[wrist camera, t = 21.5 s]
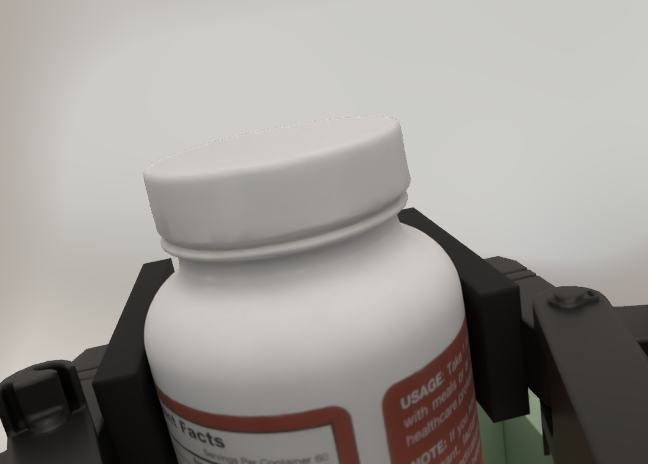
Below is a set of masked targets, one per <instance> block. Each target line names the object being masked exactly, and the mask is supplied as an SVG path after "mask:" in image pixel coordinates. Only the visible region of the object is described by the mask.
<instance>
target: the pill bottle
mask: <svg viewBox="0 0 648 464" xmlns="http://www.w3.org/2000/svg"><path fill="white" fill-rule="evenodd" d="M410 179H411V178H410V174H409V170H408V166H407V161H406V155H405V150H404V144H403V138H402V132H401V127H400V124H399V122H398V121H397V120H396V119H394V118H391V117H385V116H360V117H348V118H337V119H329V120H321V121H314V122H307V123H301V124H295V125H289V126H283V127H277V128H272V129H267V130H262V131H257V132H252V133H247V134H242V135H238V136H234V137H230V138H225V139H221V140H218V141H214V142H211V143H207V144H203V145H200V146H196V147H194V148H190V149H187V150H183V151H180V152H177V153H175V154H172V155H169V156H167V157H164V158H162V159H160V160H158V161H156V162H154V163H152V164H151V165H149V166H148V167H147V168H146V169H145V170H144V182H145V186H146V190H147V194H148V197H149V202H150V207H151V211H152V214H153V217H154V221H155V224H156V228H157V231H158V233H159V234H160V235H161V236H162V239H161V246H162V248H163V249H164V250H165V252H167V253H169V254H170V255H172V256H175V257H178V258H179V267H180V268H179V269H178V270H177V271H175V272H174V273H173V274H172V275H171V276H170V277H169V278H168V279H167V280H166V281H165V282H164V284H163V285H162V286H161V287H160V289H159V290H158V292H157V293H156V295H155V297H154V299H153V301H152V303H151V305H150V308H149V311H148V314H147V317H146V321H145V328H144V344H145V350H146V354H147V358H148V362H149V365H150V369H151V373H152V377H153V381H154V385H155V388H156V391H157V394H158V397H159V401H160V404H161V407H162V410H163V413H164V417H165V421H166V423H167V427H168V431H169V434H170V437H171V441H172V444H173V447H174V450H175V454H176V457H177V461H178V464H484V462H483V453H482V444H481V436H480V428H479V420H478V412H477V404H476V396H475V388H474V379H473V370H472V363H471V355H470V346H469V337H468V329H467V320H466V312H465V307H464V301H463V295H462V289H461V284H460V279H459V276H458V273H457V271H456V268H455V266H454V264H453V262H452V261H451V259H450V257H449V256H448V255H447V253H446V252H445V251H444V250H443V248H442V247H441V246H440V245H439V244H438V243H437V242H436V241H434V240H433V239H432V238H430V237H429V236H428V235H426V234H425V233H423V232H422V231H420V230H418V229H416V228H414V227H411V226H408V225H406V224H403V223H400V222H399V219H398V216H397V214H398V213H399V212H400V211H401V210H402V209H403V208H404V207H405V205H406V202H407V200H408V195H407V192H406V190H407V188H408V187H409V184H410Z"/></svg>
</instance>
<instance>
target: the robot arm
mask: <svg viewBox="0 0 648 464" xmlns="http://www.w3.org/2000/svg"><path fill="white" fill-rule="evenodd" d="M397 216H398V219H399V222H400V223H403V224H406V225H408V226H411V227H414V228H416V229H418V230H420V231H422V232H423V233H425V234H426V235H428V236H429V237H430V238H432V239H433V240H434V241H436V242H437V243H438V244H439V245H440V246H441V247H442V248H443V250H444V251H445V252H446V253H447V255H448V256H449V257H450V259H451V261H452V262H453V264H454V266H455V268H456V271H457V273H458V276H459V279H460V284H461V289H462V295H463V301H464V307H465V312H466V320H467V329H468V337H469V346H470V355H471V363H472V370H473V379H474V388H475V396H476V401H477V402H478V403H479V404H480V406H481V407H482V408H483V410H484V411H485V412H486V414H487V415H488V416H489V418H490V419H491V420H492V422H493V423H497V422H501V421H505V420H509V419H513V418H517V417H521V416H525V415H529V414H530V405H529V393H528V387H529V389H530V390H532V392H533V393H534V394H535V395H536V396H537V397H538V398H539V399H540V410H541V423H542V435H543V448H544V456H548V455H550V452H551V455H552V458H553V461H554V464H648V305H637V306H624V307H613V306H612V305H611V304H610V302H609V301H608V299H607V298H606V297H605V296H604V295H603V294H601V293H600V292H599V291H595V290H593V289H589V288H584V287H577V286H561V287H554V286H553V285H552V284H550V283H549V282H547V281H546V280H544V279H543V278H541V277H540V276H536V274H535V273H534V272H532V271H531V270H527V268H526V267H524V266H523V265H521V264H520V263H518V262H517V261H514V260H511V259H507V258H503V257H500V256H496V257H492V258H487V259H482V258H481V257H480V256H478V255H477V254H475V253H474V252H473V251H472V250H470V249H469V248H468V247H466V246H465V245H464V244H462V243H461V242H459V241H458V240H457V239H455V238H454V237H453V236H451V235H450V234H449V233H447V232H446V231H445V230H443V229H442V228H440V227H439V226H438V225H436V224H435V223H434V222H432V221H431V220H430V219H428V218H427V217H426V216H424V215H423V214H422V213H420V212H419V211H418V210H416V209H415V208H408V209H403V210H401V211H400V212H399V213H398V214H397ZM174 272H175V271H174V268H173V264H172V260H171V258H169V259H165V260H160V261H156V262H150V263H146V264H143V266H142V269H141V271H140V273H139V275H138V278H137V280H136V283H135V285H134V287H133V289H132V292H131V294H130V296H129V298H128V301H127V303H126V305H125V307H124V310H123V312H122V314H121V317H120V319H119V321H118V324H117V326H116V328H115V330H114V333H113V335H112V337H111V340H110V342H109V344H107V345H103V346H98V347H93V348H89V349H86V350H85V351H84V352H83V353H82V354H80V355H79V356H78V357H77V358H76V359H74V361H72V362H71V361H67V360H53V361H47V362H44V363H39V364H35V365H32V366H30V367H28V368H25V369H23V370H20V371H18V372H16V373H14V374H13V375H11V376H9V377H7V378H6V379H4V380H3V381H2V382H1V383H0V419H1V421H2V424H3V427H4V429H5V432H6V435H7V450H6V451H4V452H2V453H0V464H178V461H177V457H176V454H175V450H174V447H173V444H172V441H171V437H170V434H169V431H168V427H167V423H166V421H165V417H164V413H163V410H162V407H161V404H160V401H159V397H158V394H157V391H156V388H155V385H154V381H153V377H152V373H151V369H150V365H149V362H148V358H147V354H146V350H145V344H144V328H145V321H146V317H147V314H148V311H149V308H150V305H151V303H152V301H153V299H154V297H155V295H156V293H157V292H158V290H159V289H160V287H161V286H162V285H163V284H164V282H165V281H166V280H167V279H168V278H169V277H170V276H171V275H172V274H173V273H174Z"/></svg>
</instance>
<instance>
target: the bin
mask: <svg viewBox="0 0 648 464" xmlns="http://www.w3.org/2000/svg"><path fill="white" fill-rule="evenodd" d="M528 393H529V405H530V414H529V415H525V416H521V417H517V418H513V419H509V420H505V421H501V422H497V423H493V422H492V420H491V419H490V418H489V416H488V415H487V414H486V412H485V411H484V410H483V408H482V407H481V406H480V404H479V403H478V402H477V401H476V404H477V412H478V420H479V428H480V436H481V444H482V453H483V462H484V464H554V461H553V458H552V455H551V452H550V455H548V456H544V448H543V435H542V423H541V410H540V401H539V400H538V399H537V398H536V397H535V396H534V395H533V394H532V393H531V392H530V391H529V390H528Z"/></svg>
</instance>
